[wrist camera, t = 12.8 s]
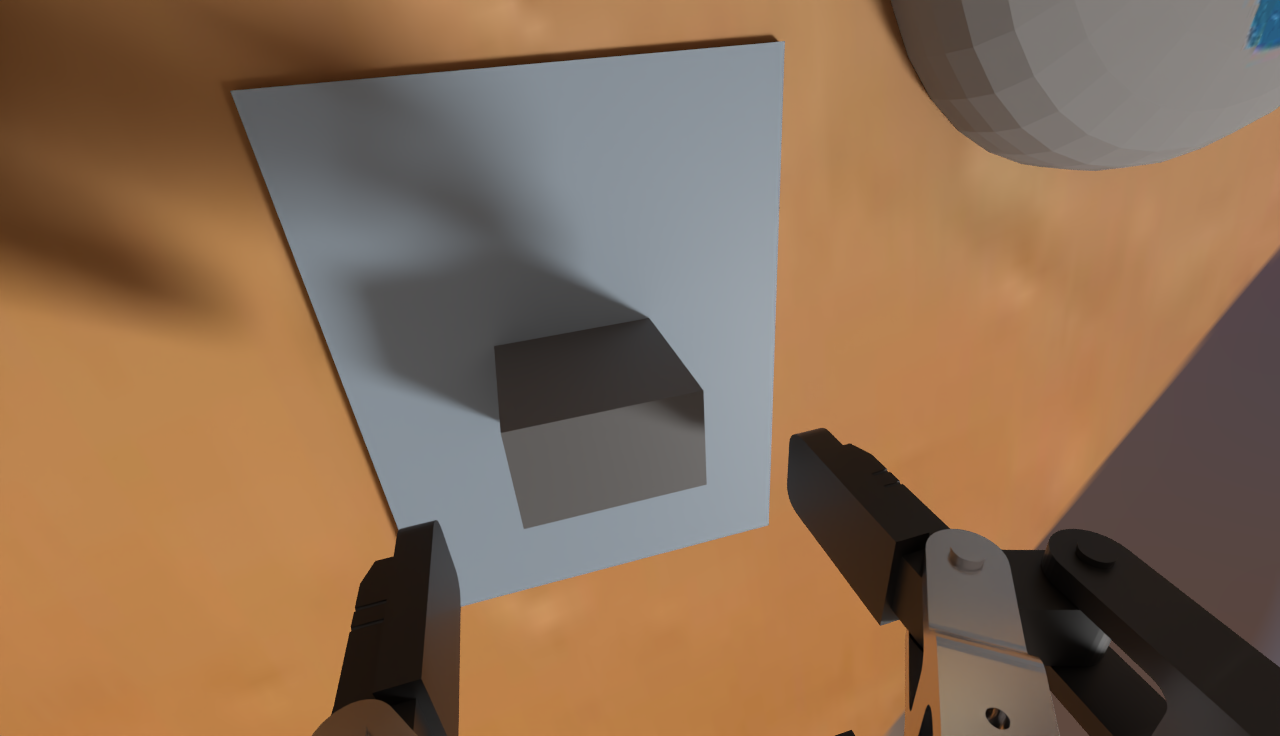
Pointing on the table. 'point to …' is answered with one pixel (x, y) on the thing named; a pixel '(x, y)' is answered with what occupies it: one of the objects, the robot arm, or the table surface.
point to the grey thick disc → (1095, 74)
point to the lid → (546, 295)
